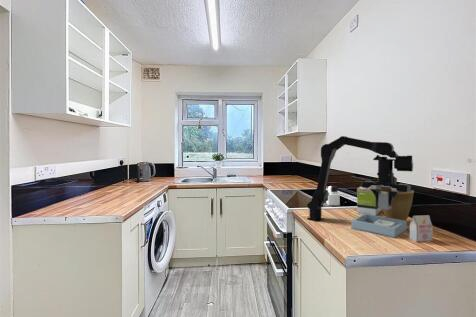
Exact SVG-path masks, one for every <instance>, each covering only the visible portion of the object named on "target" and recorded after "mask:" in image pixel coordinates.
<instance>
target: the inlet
mask: <svg viewBox="0 0 476 317" xmlns="http://www.w3.org/2000/svg"><path fill="white" fill-rule="evenodd" d="M374 224H377V225H382V226H388V227H394V226H396V222H390V221H385V220H378V221H376V222H374Z"/></svg>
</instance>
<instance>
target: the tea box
mask: <svg viewBox="0 0 476 317" xmlns="http://www.w3.org/2000/svg"><path fill="white" fill-rule="evenodd" d="M379 188H380V187H379ZM370 189H371V187H369V188H362V187H361V186H358V187H357V188H356V196H357V197H356V203H357V204H356V209H357V214H362V215H365V214H369V215H375V216H378V214H379V213H380V212H381V211H383V209H379V208H378V202H377V199H376V197H375V195H374V194H373V192H372V190H370Z"/></svg>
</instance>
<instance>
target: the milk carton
mask: <svg viewBox="0 0 476 317" xmlns="http://www.w3.org/2000/svg"><path fill="white" fill-rule="evenodd" d="M433 228H434V227H433V223H432V221H431V217H430V215H429V214H427V215H412V219H411V221H410V223H409V240H411V241H413V242H415V243H425V242H426V241H430V242H433ZM426 243H427V242H426Z"/></svg>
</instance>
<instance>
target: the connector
mask: <svg viewBox="0 0 476 317" xmlns="http://www.w3.org/2000/svg"><path fill="white" fill-rule="evenodd" d="M378 208H379V209H382V210H383V209H385V210H389V209H391V206H389V192H384V191H383V192H380V193H379V198H378Z"/></svg>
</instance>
